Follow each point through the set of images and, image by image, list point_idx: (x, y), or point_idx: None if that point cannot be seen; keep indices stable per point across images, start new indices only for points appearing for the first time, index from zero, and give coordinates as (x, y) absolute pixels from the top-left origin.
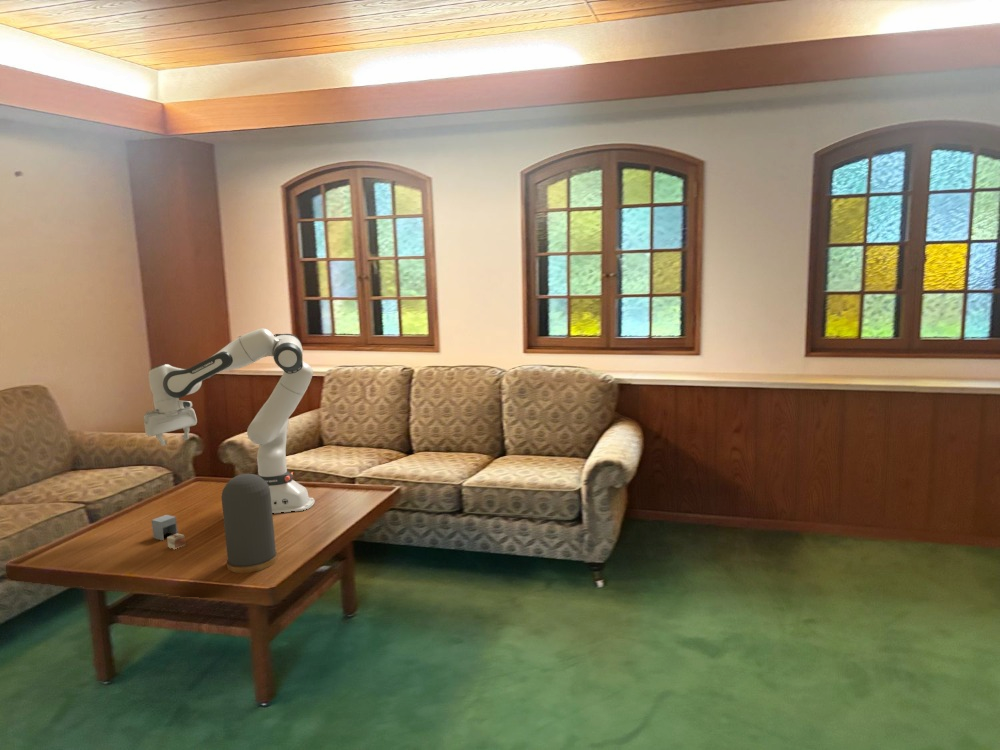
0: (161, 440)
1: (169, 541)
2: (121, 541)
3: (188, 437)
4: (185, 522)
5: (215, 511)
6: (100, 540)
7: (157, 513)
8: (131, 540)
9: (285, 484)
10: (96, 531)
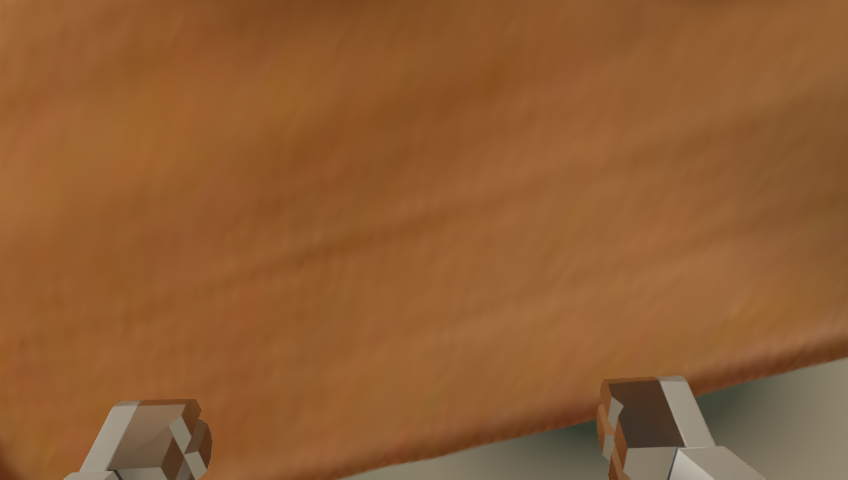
0: (732, 477)
1: None
2: (781, 102)
3: (116, 413)
4: (432, 50)
5: (225, 58)
6: (796, 215)
7: (419, 315)
8: (754, 65)
9: None
10: (705, 340)
